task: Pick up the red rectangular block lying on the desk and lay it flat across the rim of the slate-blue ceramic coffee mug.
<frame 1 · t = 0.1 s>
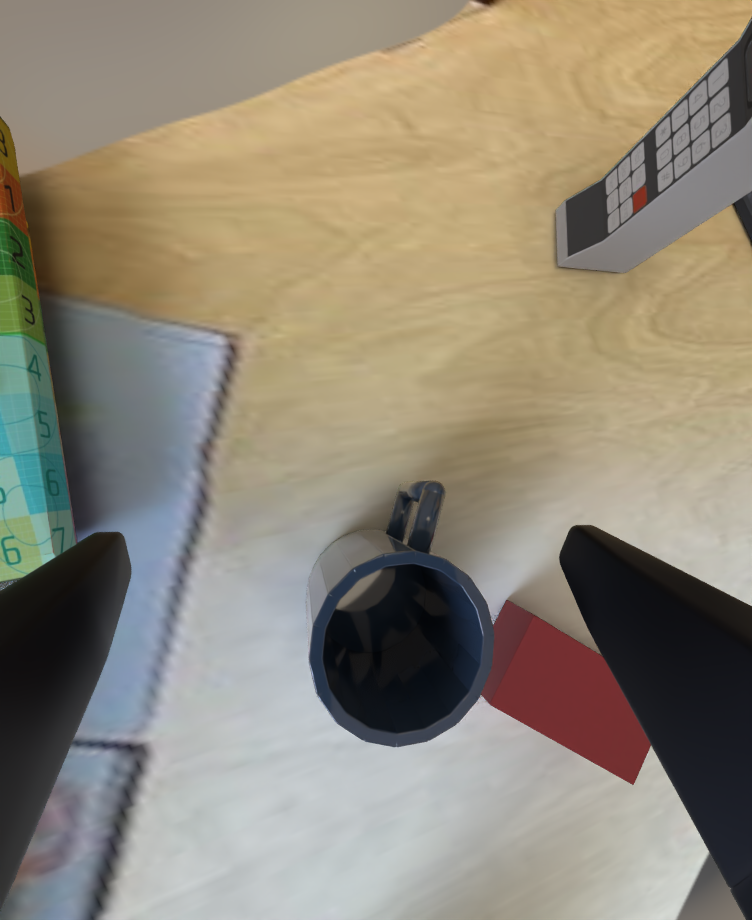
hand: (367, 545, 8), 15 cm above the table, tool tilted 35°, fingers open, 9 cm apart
mug: (370, 592, 23), on the table
vintage mobile phone: (585, 246, 27), on the table
red rectangular block: (550, 675, 25), on the table
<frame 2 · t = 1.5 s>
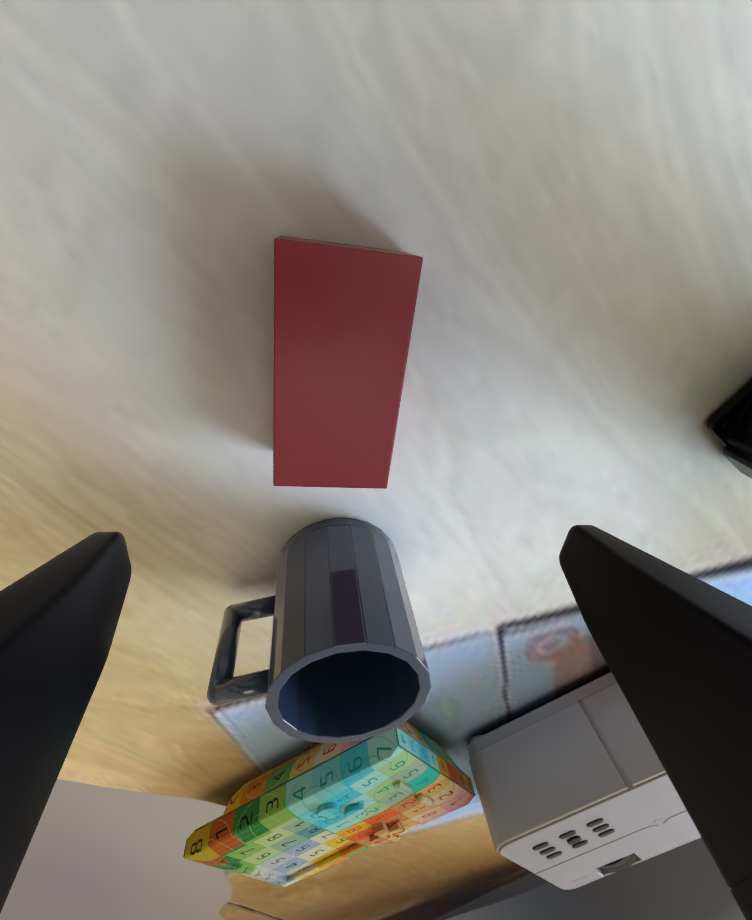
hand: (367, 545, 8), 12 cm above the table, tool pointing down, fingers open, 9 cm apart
mug: (338, 565, 25), on the table
puzzle game: (331, 768, 36), on the table
red rectangular block: (335, 362, 19), on the table
projector: (597, 717, 39), on the table
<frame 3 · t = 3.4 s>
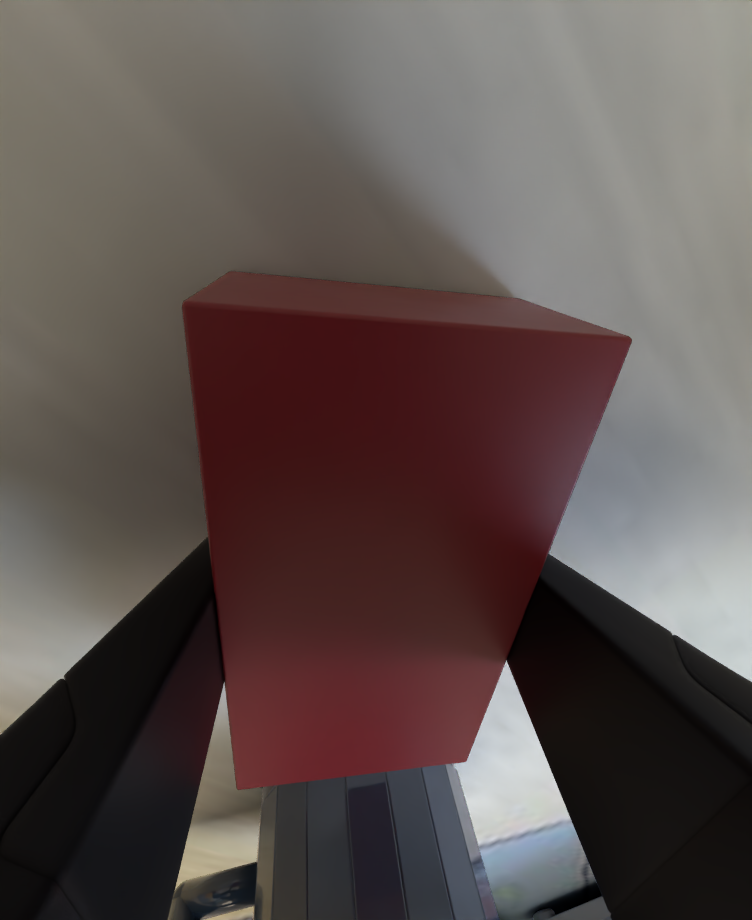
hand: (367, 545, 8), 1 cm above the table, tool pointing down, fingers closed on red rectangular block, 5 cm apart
mug: (360, 782, 15), on the table
red rectangular block: (359, 514, 9), on the table, touching gripper
projector: (695, 871, 29), on the table
when the fingers open (9 cm above the table, at t = 7.4 s): red rectangular block stays where it is, resting on mug.
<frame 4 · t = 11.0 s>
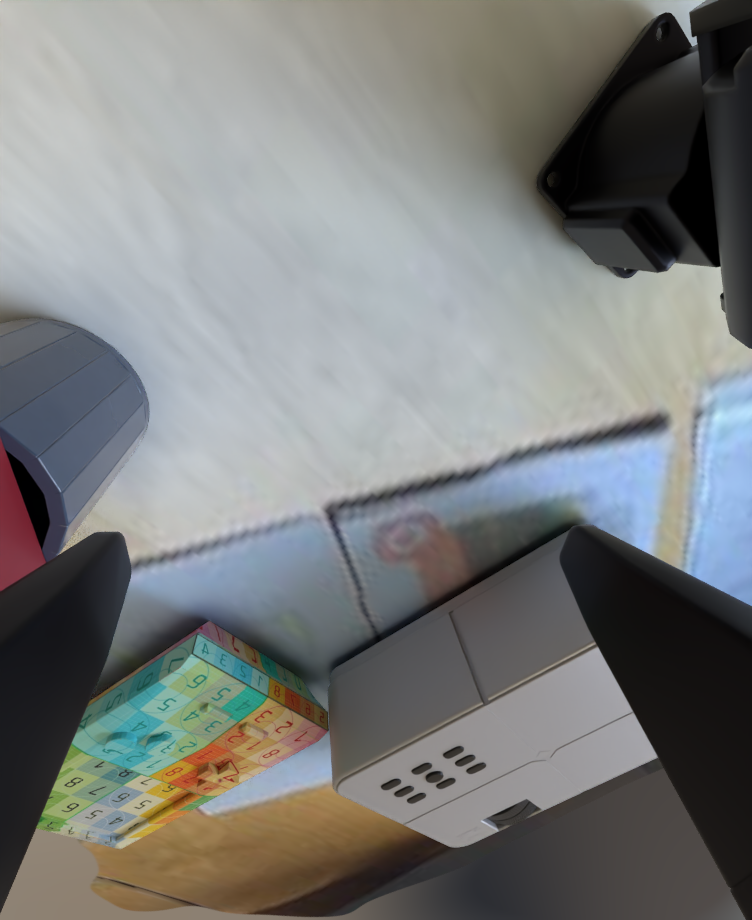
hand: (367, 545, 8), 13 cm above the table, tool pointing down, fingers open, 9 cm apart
mug: (64, 399, 19), on the table, touching red rectangular block
puzzle game: (167, 706, 30), on the table
projector: (494, 645, 33), on the table
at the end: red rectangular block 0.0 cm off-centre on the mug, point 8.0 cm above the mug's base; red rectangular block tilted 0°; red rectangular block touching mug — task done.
